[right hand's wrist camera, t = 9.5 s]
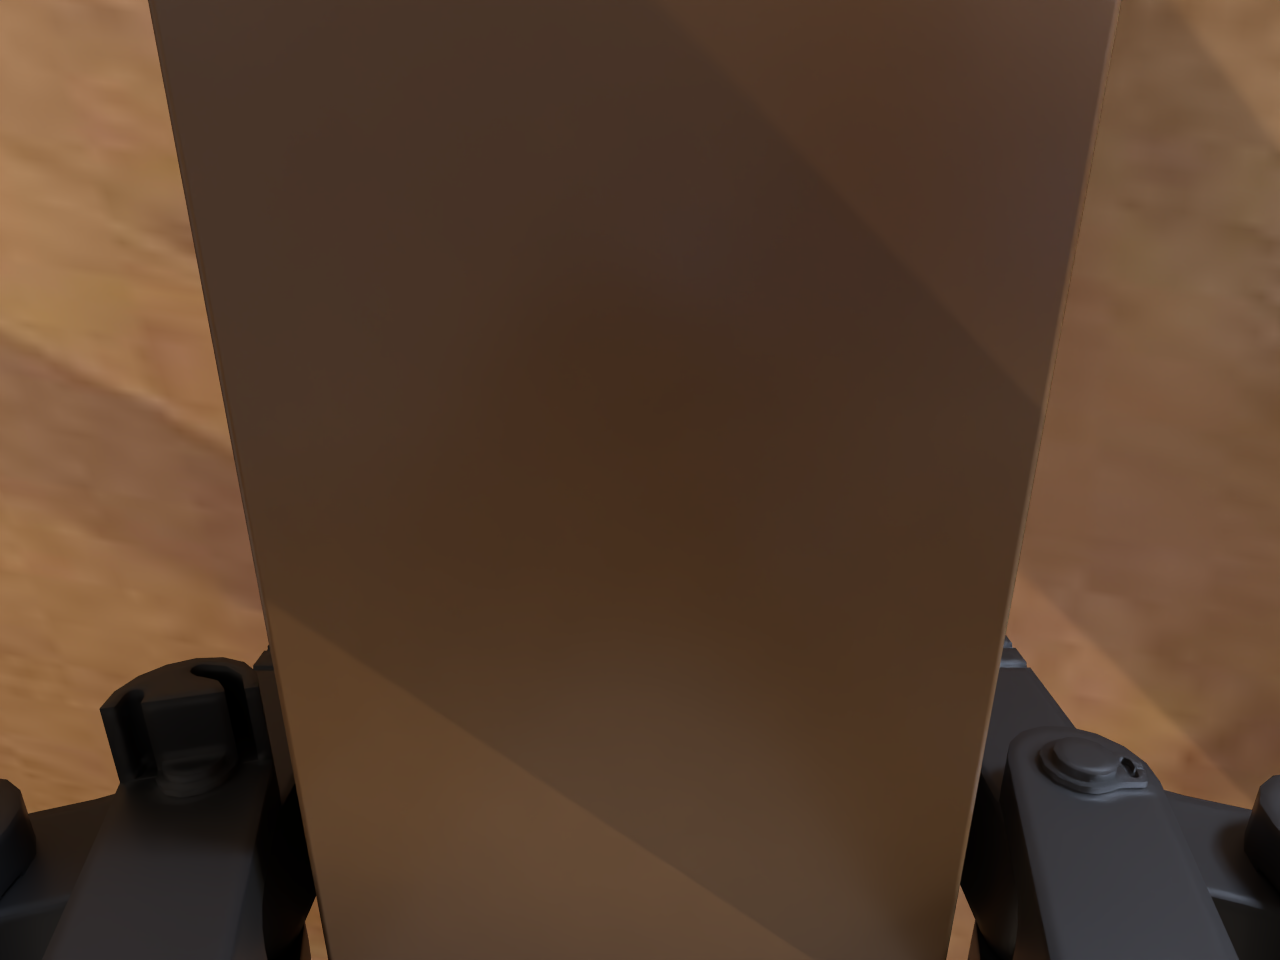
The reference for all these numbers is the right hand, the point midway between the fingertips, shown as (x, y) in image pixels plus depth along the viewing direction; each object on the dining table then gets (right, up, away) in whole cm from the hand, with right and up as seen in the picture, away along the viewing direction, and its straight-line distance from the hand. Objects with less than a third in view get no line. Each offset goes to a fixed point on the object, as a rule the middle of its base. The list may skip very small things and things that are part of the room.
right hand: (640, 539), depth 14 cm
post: (0, +18, -6) cm, 19 cm away
